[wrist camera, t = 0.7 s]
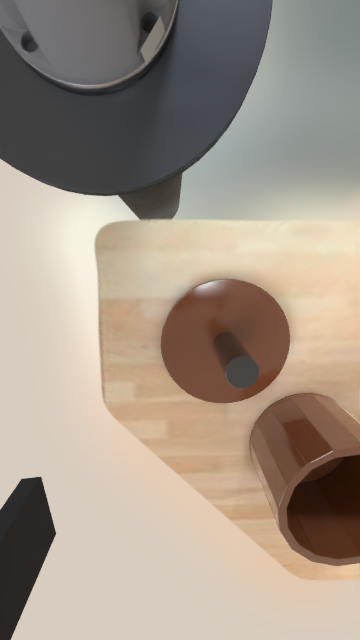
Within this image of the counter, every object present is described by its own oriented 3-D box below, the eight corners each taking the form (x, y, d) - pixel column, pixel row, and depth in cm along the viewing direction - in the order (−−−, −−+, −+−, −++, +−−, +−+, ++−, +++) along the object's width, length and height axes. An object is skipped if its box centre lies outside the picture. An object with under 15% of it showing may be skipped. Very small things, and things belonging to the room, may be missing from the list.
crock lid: (152, 288, 29) (143, 301, 21) (281, 269, 29) (325, 274, 21) (171, 405, 33) (170, 458, 24) (289, 388, 32) (330, 435, 24)
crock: (245, 401, 33) (273, 458, 23) (352, 386, 32) (424, 437, 23) (254, 490, 35) (283, 573, 26) (353, 477, 35) (417, 555, 26)
